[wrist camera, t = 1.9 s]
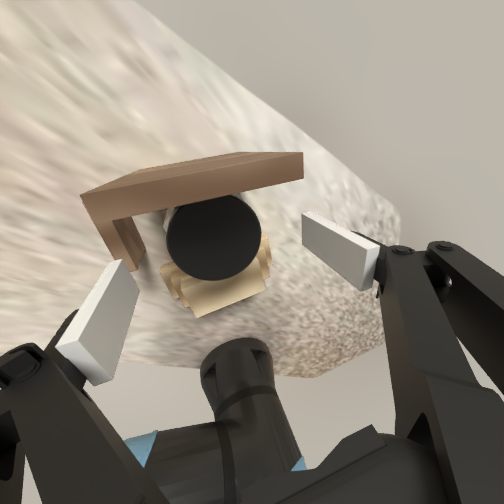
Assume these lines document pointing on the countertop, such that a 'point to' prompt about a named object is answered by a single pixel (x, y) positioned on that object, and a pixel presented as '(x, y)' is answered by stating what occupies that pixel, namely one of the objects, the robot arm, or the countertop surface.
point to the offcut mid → (179, 274)
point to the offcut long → (167, 268)
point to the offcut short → (222, 289)
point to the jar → (213, 237)
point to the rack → (179, 192)
